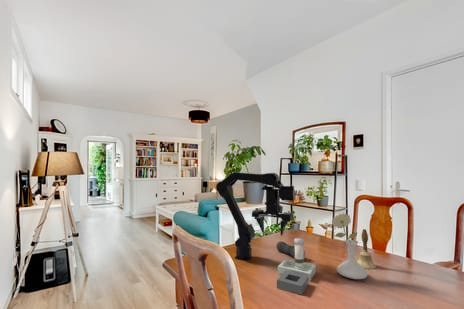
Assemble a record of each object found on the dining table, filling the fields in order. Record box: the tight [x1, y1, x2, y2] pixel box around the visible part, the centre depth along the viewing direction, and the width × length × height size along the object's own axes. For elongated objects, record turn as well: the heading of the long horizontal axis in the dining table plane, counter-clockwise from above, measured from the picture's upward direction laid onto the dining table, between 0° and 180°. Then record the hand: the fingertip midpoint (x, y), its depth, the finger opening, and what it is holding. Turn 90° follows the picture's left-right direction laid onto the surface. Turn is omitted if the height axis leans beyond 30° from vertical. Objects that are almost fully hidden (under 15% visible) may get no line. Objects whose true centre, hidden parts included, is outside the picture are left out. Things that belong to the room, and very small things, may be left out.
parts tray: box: [277, 258, 317, 283], centre depth 103 cm, size 13×10×3 cm
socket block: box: [276, 271, 309, 296], centre depth 91 cm, size 9×9×3 cm
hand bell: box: [356, 228, 377, 270], centre depth 111 cm, size 8×8×16 cm
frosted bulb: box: [293, 237, 305, 271], centre depth 102 cm, size 4×4×13 cm
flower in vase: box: [331, 212, 369, 280], centre depth 101 cm, size 13×11×25 cm
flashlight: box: [275, 241, 306, 259], centre depth 123 cm, size 15×5×5 cm, turn 32°
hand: (272, 233), depth 114 cm, fingers open, 9 cm apart
